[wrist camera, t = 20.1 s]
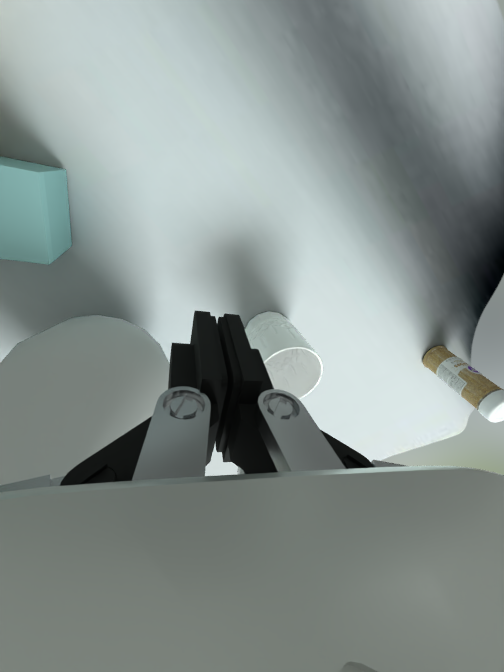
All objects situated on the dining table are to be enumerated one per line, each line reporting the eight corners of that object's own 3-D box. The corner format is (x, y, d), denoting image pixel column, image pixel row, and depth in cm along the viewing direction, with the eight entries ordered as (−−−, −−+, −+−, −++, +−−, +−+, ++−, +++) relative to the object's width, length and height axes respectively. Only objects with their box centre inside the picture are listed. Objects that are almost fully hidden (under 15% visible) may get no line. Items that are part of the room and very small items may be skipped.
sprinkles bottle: (449, 343, 51) (527, 396, 39) (439, 365, 53) (510, 421, 42) (426, 345, 50) (499, 400, 38) (417, 367, 52) (484, 425, 41)
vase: (64, 406, 41) (-91, 748, 17) (9, 296, 32) (-447, 673, 9) (187, 386, 43) (200, 656, 20) (167, 279, 35) (148, 531, 11)
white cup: (246, 362, 43) (262, 411, 35) (233, 316, 39) (249, 359, 31) (297, 346, 44) (325, 391, 36) (290, 299, 40) (320, 337, 31)
